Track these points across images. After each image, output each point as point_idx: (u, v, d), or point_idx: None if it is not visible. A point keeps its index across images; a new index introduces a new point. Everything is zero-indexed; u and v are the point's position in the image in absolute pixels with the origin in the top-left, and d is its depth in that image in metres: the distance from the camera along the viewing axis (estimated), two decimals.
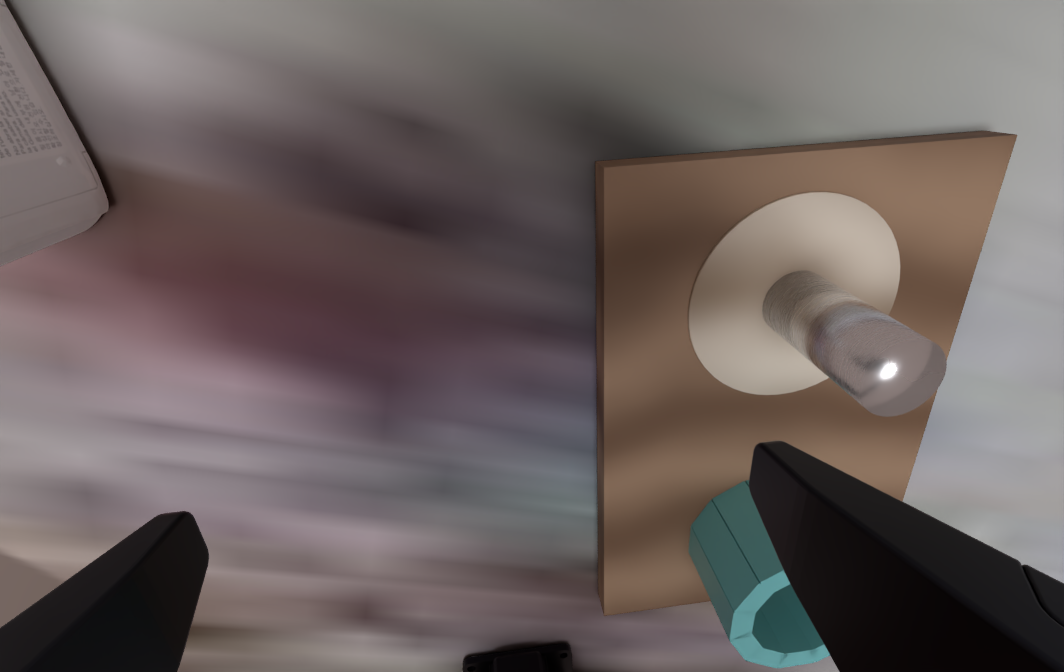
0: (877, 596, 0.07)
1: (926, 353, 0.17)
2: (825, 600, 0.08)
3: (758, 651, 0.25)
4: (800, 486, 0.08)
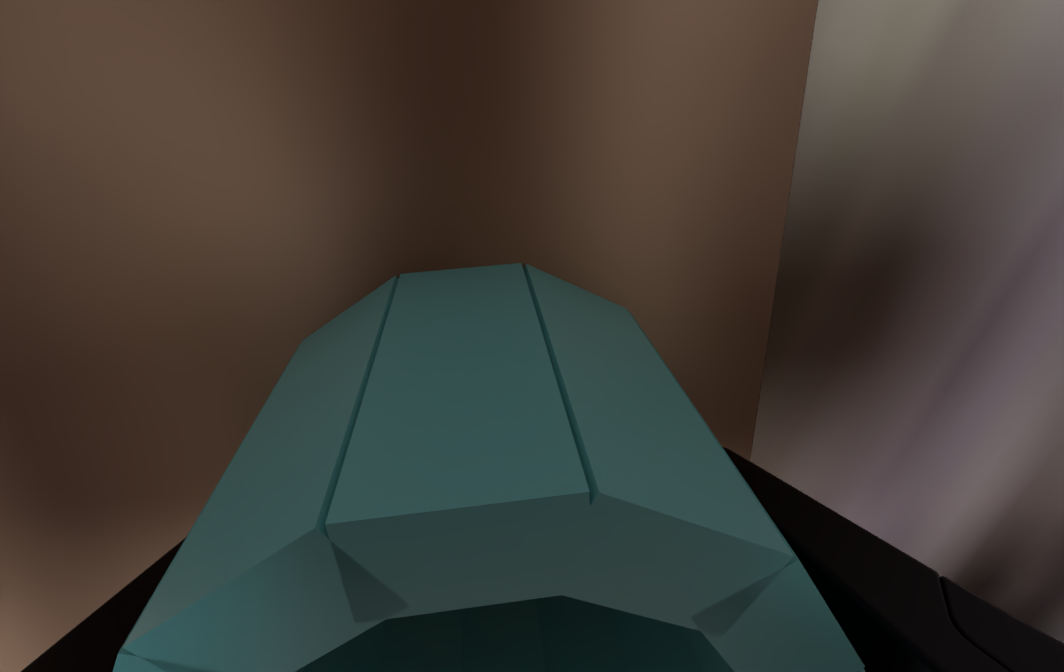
0: None
1: None
2: None
3: None
4: None
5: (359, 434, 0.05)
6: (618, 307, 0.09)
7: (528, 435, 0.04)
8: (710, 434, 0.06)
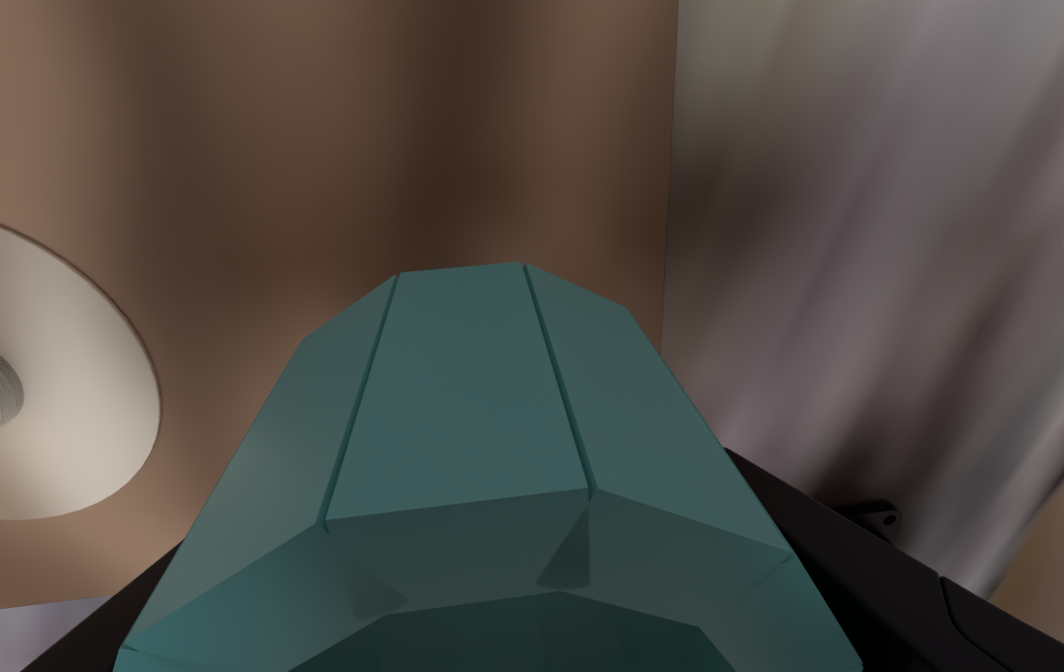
0: None
1: None
2: None
3: None
4: None
5: (359, 431, 0.05)
6: (617, 306, 0.09)
7: (528, 432, 0.04)
8: (709, 431, 0.06)
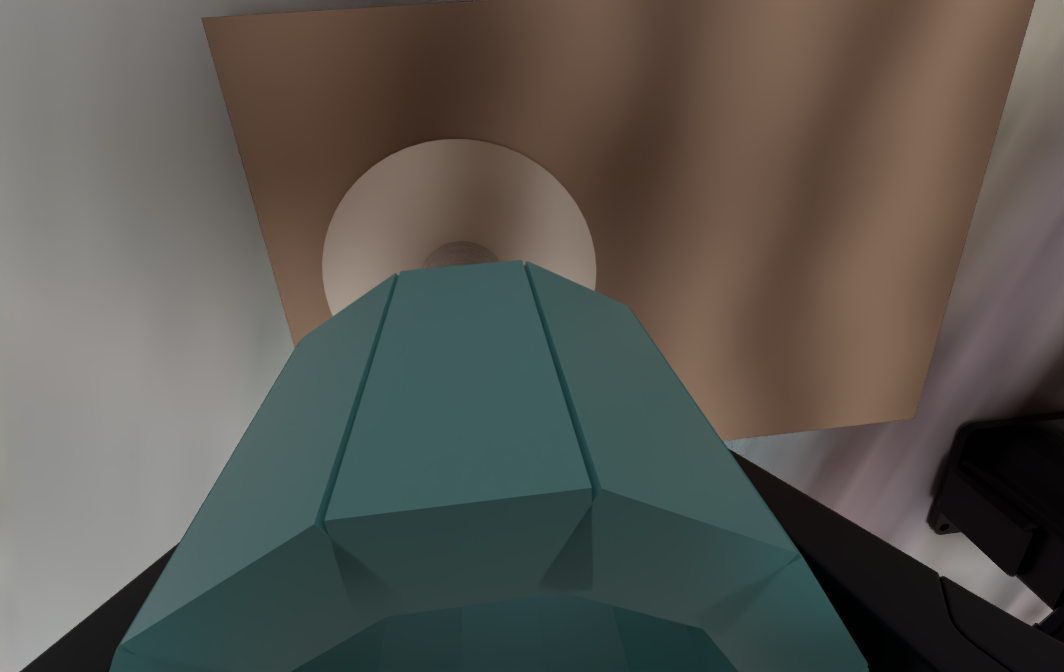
0: None
1: None
2: None
3: None
4: None
5: (359, 430, 0.05)
6: (619, 304, 0.09)
7: (529, 431, 0.04)
8: (712, 431, 0.06)
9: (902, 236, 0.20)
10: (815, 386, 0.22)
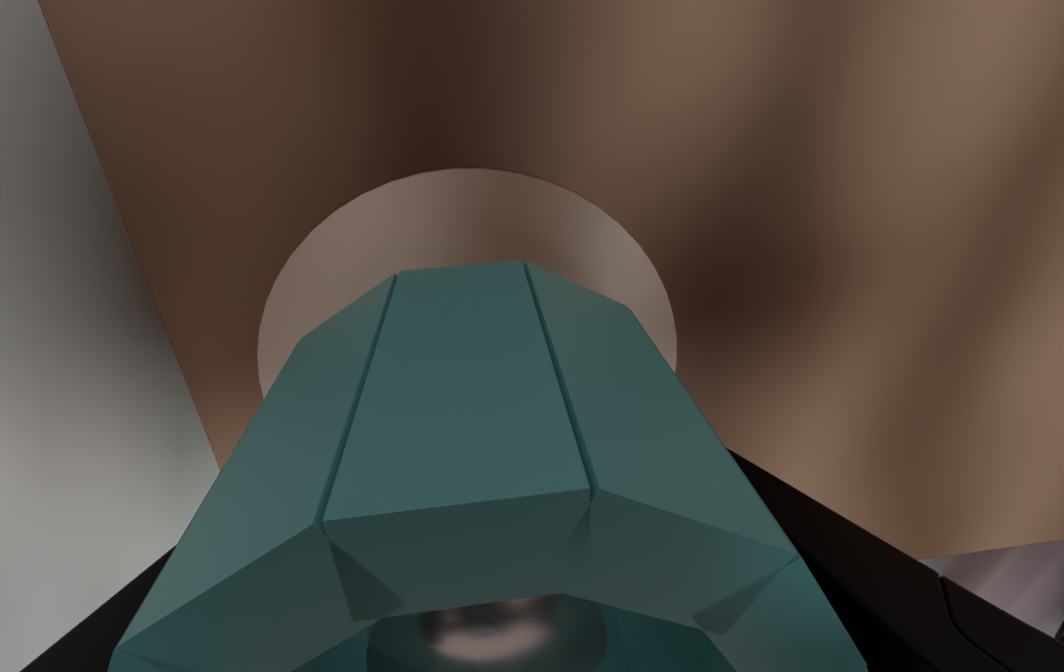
0: None
1: (409, 634, 0.06)
2: None
3: None
4: None
5: (357, 430, 0.05)
6: (618, 304, 0.09)
7: (528, 431, 0.04)
8: (711, 431, 0.06)
9: None
10: (960, 503, 0.16)
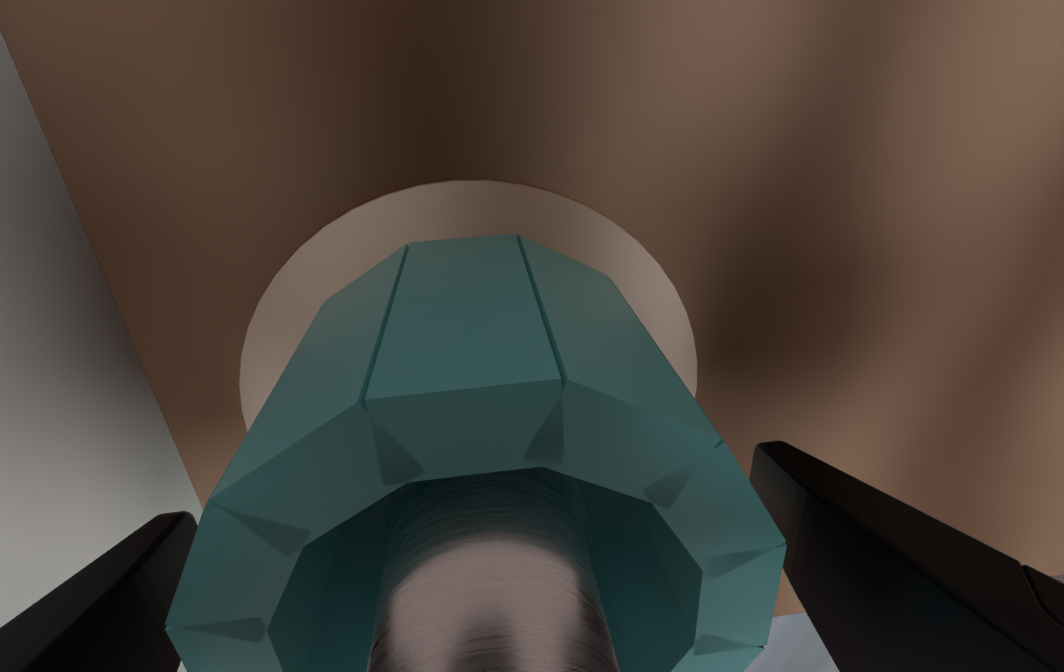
0: (877, 596, 0.07)
1: None
2: (825, 600, 0.08)
3: None
4: (800, 486, 0.08)
5: (385, 348, 0.06)
6: (599, 273, 0.10)
7: (517, 347, 0.06)
8: (667, 363, 0.07)
9: None
10: (994, 532, 0.15)
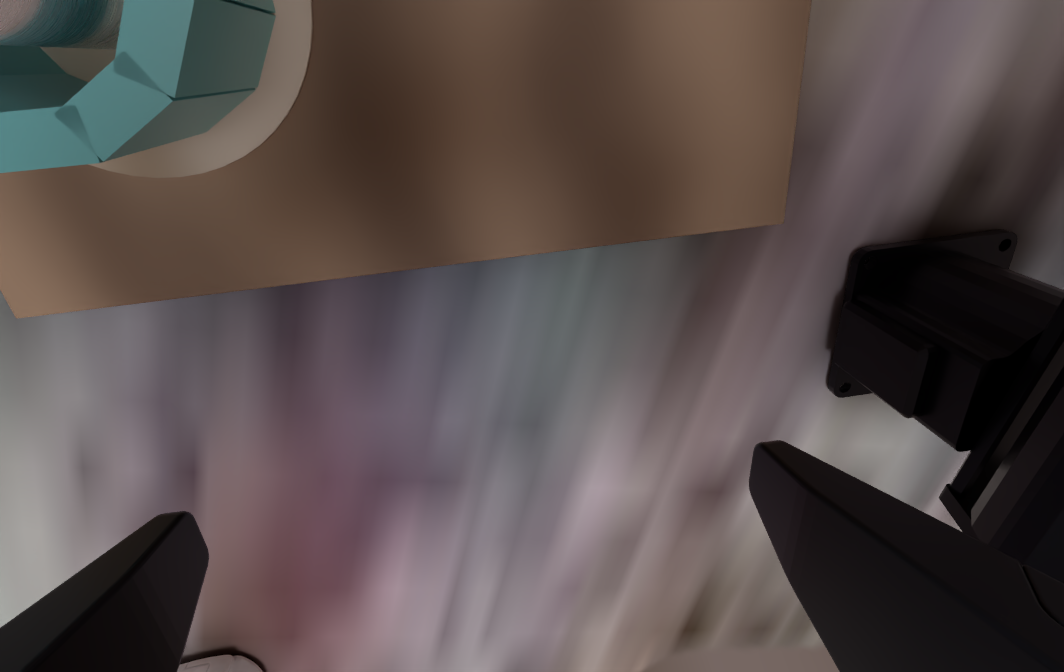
0: (877, 596, 0.07)
1: None
2: (825, 600, 0.08)
3: (129, 69, 0.10)
4: (800, 486, 0.08)
5: None
6: None
7: None
8: None
9: None
10: (648, 172, 0.17)
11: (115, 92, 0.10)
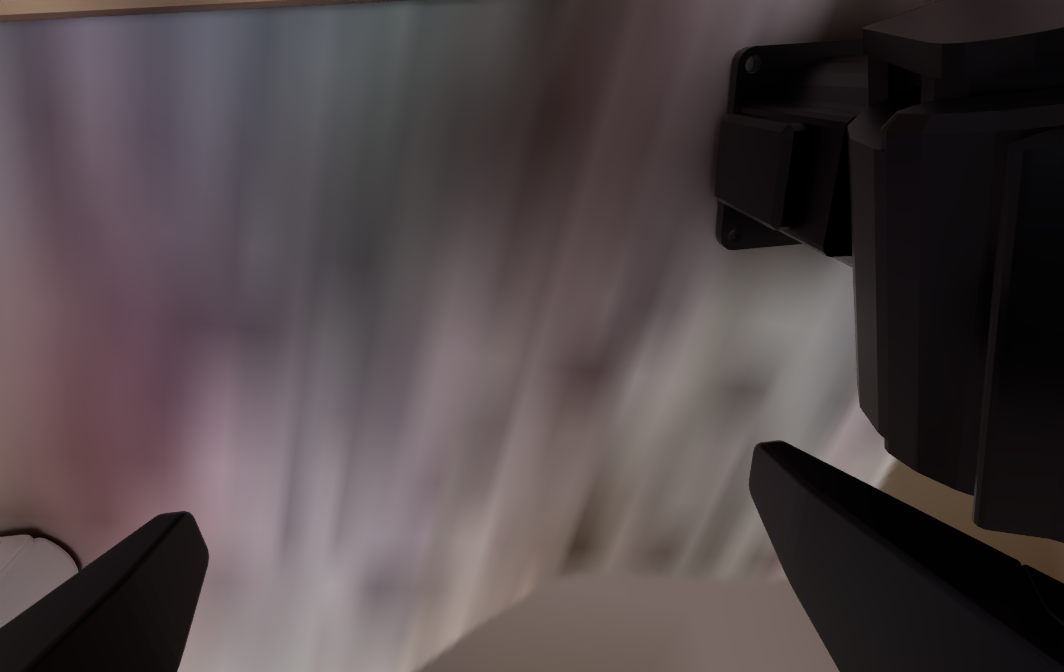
0: (877, 596, 0.07)
1: None
2: (825, 600, 0.08)
3: None
4: (800, 486, 0.08)
5: None
6: None
7: None
8: None
9: None
10: None
11: None
